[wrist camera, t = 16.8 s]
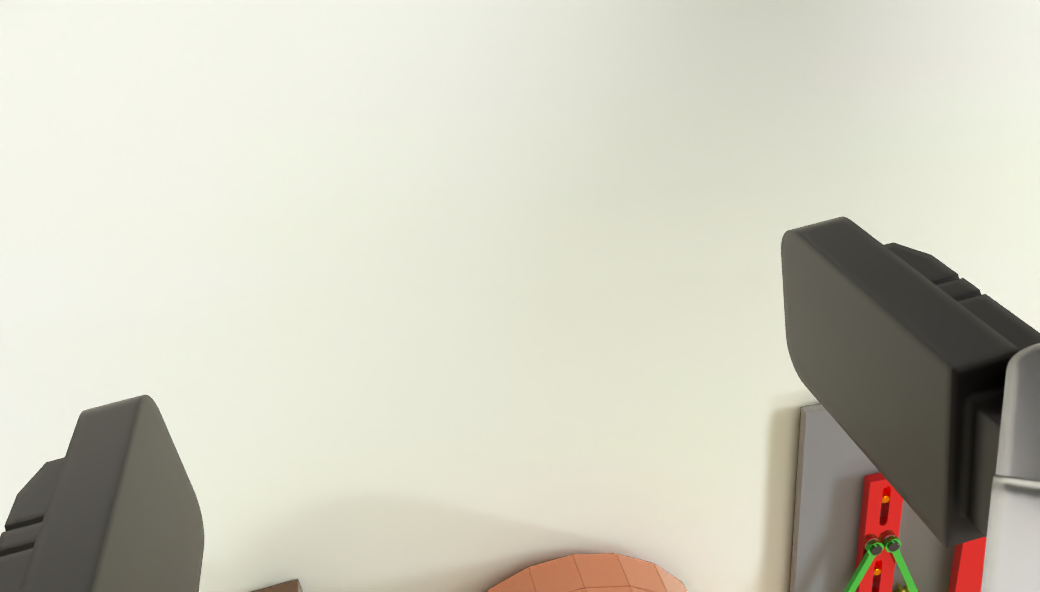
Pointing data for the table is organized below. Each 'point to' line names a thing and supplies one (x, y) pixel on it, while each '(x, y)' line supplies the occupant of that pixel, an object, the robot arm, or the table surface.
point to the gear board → (864, 525)
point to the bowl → (592, 576)
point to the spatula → (283, 587)
